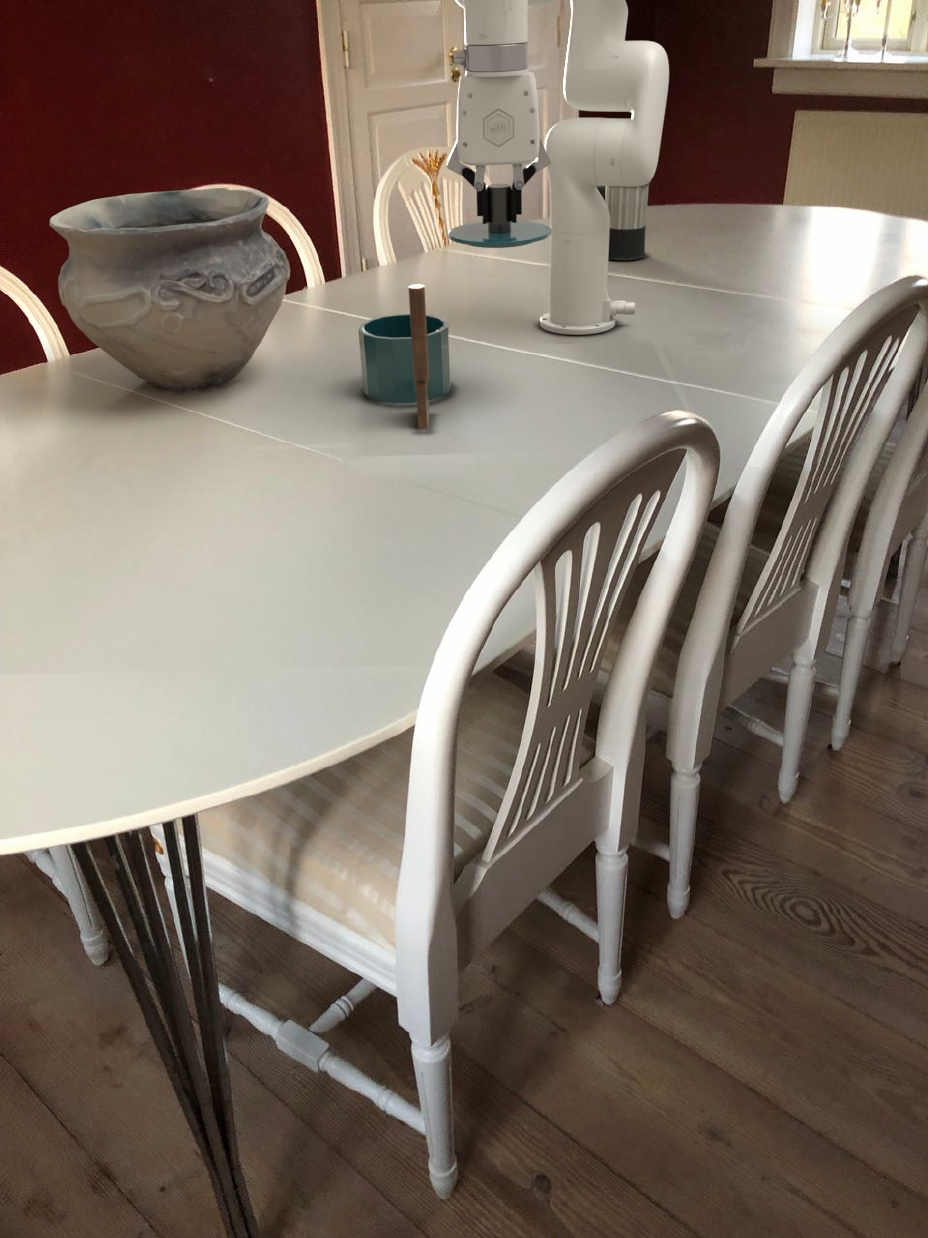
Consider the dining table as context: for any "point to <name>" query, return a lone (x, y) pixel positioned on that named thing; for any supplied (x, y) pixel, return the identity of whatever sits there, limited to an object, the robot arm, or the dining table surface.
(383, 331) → the pot
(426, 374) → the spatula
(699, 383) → the dining table surface
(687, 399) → the dining table surface
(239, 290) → the clay pot
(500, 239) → the lid
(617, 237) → the milk frother
